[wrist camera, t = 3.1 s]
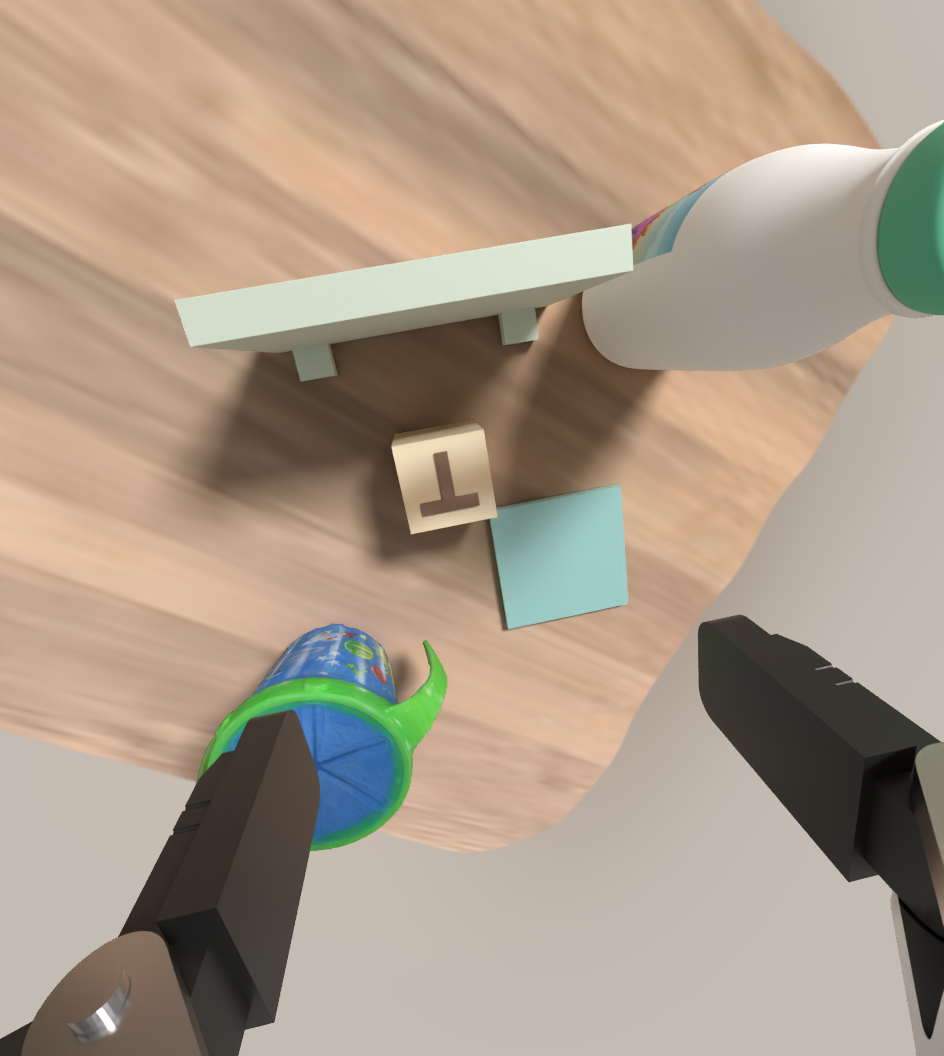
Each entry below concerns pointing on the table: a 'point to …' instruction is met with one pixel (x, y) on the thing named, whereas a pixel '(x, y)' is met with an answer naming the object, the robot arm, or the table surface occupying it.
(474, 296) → the screen
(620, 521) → the pad
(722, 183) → the milk bottle
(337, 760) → the snack cup
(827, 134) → the table surface
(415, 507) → the letter cube
